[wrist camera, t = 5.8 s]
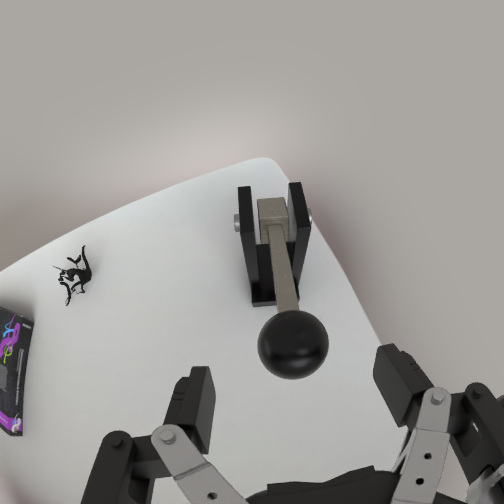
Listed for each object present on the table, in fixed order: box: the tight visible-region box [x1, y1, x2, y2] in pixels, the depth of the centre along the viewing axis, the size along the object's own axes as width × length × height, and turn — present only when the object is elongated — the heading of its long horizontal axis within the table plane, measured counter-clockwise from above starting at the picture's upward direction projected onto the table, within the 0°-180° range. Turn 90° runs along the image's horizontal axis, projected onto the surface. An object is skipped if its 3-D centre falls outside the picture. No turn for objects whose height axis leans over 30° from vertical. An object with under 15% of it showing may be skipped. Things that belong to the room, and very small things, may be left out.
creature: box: [54, 245, 92, 306], centre depth 30 cm, size 8×5×8 cm
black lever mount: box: [234, 182, 312, 307], centre depth 25 cm, size 7×6×13 cm
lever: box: [257, 197, 329, 380], centre depth 17 cm, size 14×4×4 cm, turn 4°
